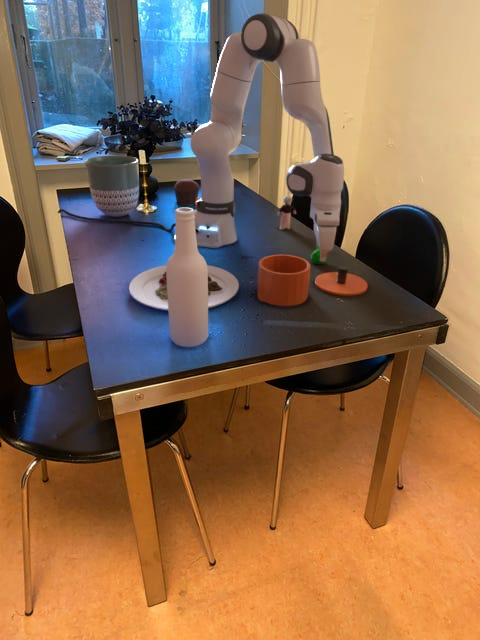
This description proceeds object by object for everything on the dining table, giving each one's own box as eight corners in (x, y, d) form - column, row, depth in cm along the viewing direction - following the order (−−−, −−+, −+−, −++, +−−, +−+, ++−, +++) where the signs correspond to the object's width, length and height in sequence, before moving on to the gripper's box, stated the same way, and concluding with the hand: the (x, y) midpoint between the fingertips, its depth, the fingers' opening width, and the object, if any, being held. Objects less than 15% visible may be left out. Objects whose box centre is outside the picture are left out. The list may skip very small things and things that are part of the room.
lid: (317, 296, 128) (319, 277, 125) (312, 275, 140) (314, 256, 138) (371, 299, 127) (374, 279, 124) (362, 277, 140) (364, 259, 137)
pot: (256, 306, 122) (258, 273, 117) (257, 284, 134) (259, 253, 129) (308, 308, 121) (312, 275, 117) (305, 286, 133) (308, 255, 128)
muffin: (169, 204, 204) (168, 181, 199) (179, 198, 213) (178, 176, 208) (194, 207, 201) (194, 183, 196) (204, 200, 210) (203, 178, 205)
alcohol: (212, 345, 105) (211, 214, 90) (173, 350, 102) (165, 217, 88) (203, 326, 112) (201, 202, 97) (167, 331, 110) (159, 205, 95)
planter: (117, 225, 177) (111, 167, 167) (81, 216, 186) (73, 161, 175) (152, 213, 192) (148, 159, 181) (117, 205, 201) (111, 153, 190)
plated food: (195, 328, 111) (195, 315, 110) (105, 296, 125) (104, 285, 123) (258, 284, 134) (259, 273, 132) (176, 261, 147) (176, 251, 146)
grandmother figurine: (280, 231, 176) (282, 197, 169) (274, 228, 179) (276, 195, 172) (297, 228, 179) (299, 195, 173) (291, 225, 182) (294, 193, 176)
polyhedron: (326, 262, 149) (328, 248, 147) (325, 268, 145) (326, 253, 143) (311, 260, 150) (312, 246, 148) (309, 266, 146) (310, 251, 144)
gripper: (311, 202, 149) (307, 243, 156) (318, 221, 131) (313, 267, 138) (331, 202, 149) (326, 244, 155) (340, 222, 131) (335, 267, 138)
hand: (320, 255), depth 146 cm, fingers open, 8 cm apart
